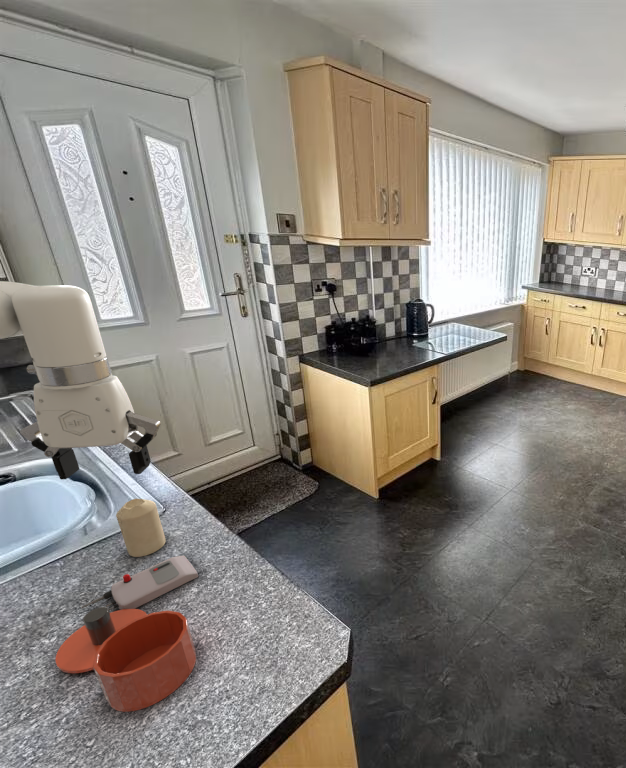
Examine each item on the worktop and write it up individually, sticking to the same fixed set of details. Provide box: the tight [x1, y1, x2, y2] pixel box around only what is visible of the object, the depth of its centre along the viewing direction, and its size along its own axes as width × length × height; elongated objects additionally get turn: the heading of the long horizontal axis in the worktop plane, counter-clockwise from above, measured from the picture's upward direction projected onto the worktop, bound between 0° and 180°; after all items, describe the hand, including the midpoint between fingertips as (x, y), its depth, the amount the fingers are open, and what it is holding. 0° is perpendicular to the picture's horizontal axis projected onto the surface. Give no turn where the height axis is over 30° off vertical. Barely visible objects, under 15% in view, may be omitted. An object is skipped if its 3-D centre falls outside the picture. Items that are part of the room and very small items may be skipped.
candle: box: [115, 498, 166, 558], centre depth 78 cm, size 6×6×10 cm
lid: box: [54, 606, 148, 674], centre depth 61 cm, size 10×10×6 cm
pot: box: [93, 609, 197, 713], centre depth 57 cm, size 9×9×6 cm
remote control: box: [81, 555, 199, 611], centre depth 71 cm, size 7×16×3 cm, turn 143°
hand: (107, 472), depth 68 cm, fingers open, 9 cm apart
